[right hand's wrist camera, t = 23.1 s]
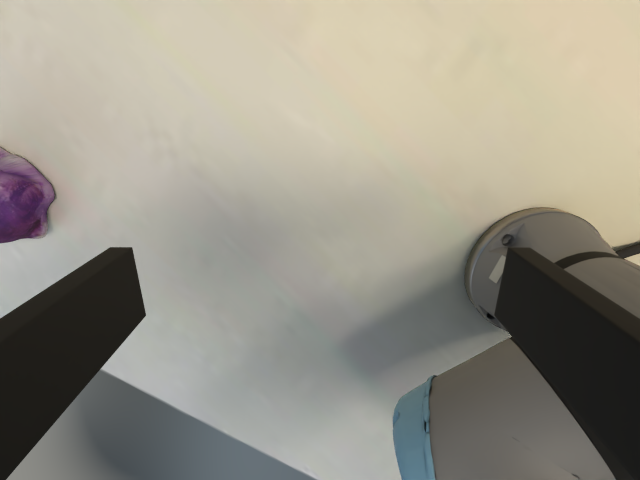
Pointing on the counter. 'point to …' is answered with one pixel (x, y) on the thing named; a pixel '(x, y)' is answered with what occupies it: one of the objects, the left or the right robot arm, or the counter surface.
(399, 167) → the counter surface
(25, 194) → the figurine
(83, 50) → the counter surface
